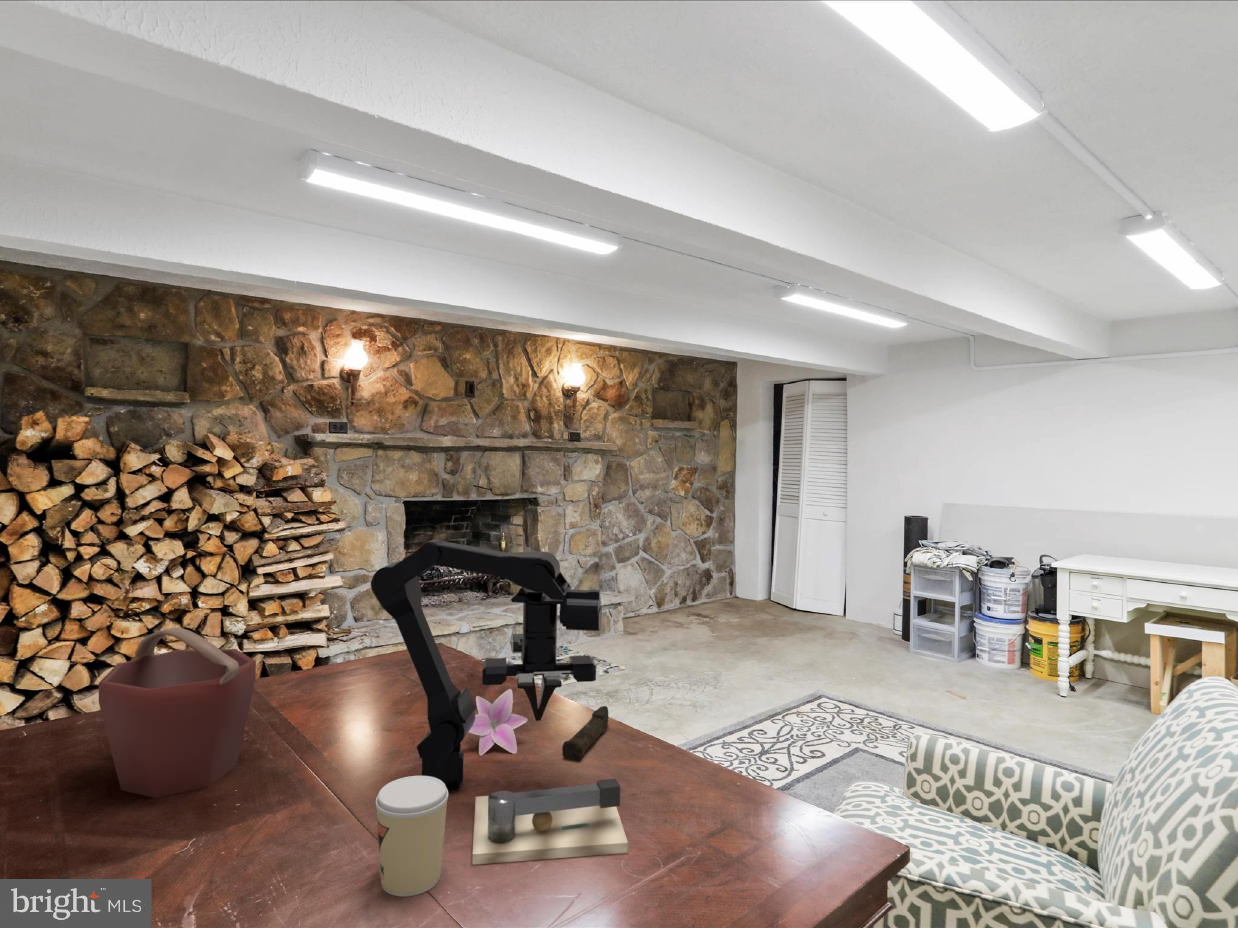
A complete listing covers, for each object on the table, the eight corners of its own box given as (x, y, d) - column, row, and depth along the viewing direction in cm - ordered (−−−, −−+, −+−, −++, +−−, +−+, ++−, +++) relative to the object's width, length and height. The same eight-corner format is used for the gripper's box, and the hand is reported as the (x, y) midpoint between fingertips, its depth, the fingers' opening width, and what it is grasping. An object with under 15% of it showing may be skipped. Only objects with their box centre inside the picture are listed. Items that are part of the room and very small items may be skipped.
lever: (489, 844, 101) (489, 804, 101) (486, 829, 105) (487, 790, 105) (620, 826, 106) (621, 788, 106) (613, 812, 110) (614, 776, 110)
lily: (448, 755, 135) (456, 721, 130) (474, 710, 145) (482, 677, 141) (507, 779, 134) (516, 745, 129) (529, 732, 144) (538, 699, 139)
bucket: (271, 777, 122) (272, 633, 121) (117, 826, 106) (117, 661, 105) (222, 734, 139) (222, 608, 138) (82, 771, 123) (82, 628, 122)
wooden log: (580, 764, 130) (581, 739, 130) (561, 760, 132) (562, 735, 132) (619, 727, 148) (620, 705, 148) (601, 723, 150) (602, 702, 149)
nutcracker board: (472, 864, 99) (473, 832, 99) (475, 805, 115) (476, 778, 114) (627, 852, 103) (628, 822, 102) (610, 797, 118) (610, 770, 118)
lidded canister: (384, 858, 100) (385, 774, 99) (451, 856, 101) (453, 773, 100) (366, 901, 90) (367, 809, 90) (440, 899, 91) (442, 808, 91)
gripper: (588, 615, 129) (586, 700, 129) (484, 617, 126) (482, 704, 126) (597, 632, 118) (595, 724, 118) (483, 634, 115) (481, 729, 115)
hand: (538, 719), depth 120 cm, fingers closed
